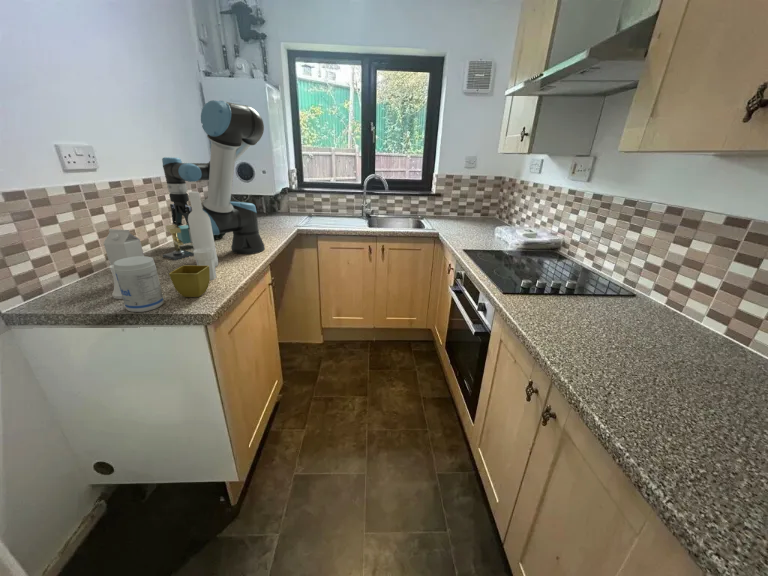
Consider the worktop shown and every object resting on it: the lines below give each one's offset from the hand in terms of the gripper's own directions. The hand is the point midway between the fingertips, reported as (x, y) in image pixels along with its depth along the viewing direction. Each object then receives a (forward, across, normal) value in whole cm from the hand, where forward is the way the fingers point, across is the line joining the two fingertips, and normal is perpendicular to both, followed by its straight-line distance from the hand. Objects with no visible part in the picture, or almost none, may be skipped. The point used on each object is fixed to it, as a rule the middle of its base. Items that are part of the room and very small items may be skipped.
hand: (188, 240), depth 157 cm
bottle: (+3, +34, -14) cm, 37 cm away
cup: (+3, +47, -23) cm, 53 cm away
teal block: (0, 0, 0) cm, 0 cm away
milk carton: (+4, +28, -39) cm, 48 cm away
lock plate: (+3, +11, -12) cm, 17 cm away
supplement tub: (+3, +53, -48) cm, 72 cm away
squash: (+4, -7, +18) cm, 20 cm away
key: (+1, +14, -13) cm, 19 cm away
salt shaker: (+3, +38, -46) cm, 60 cm away
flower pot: (+3, +57, -35) cm, 67 cm away
